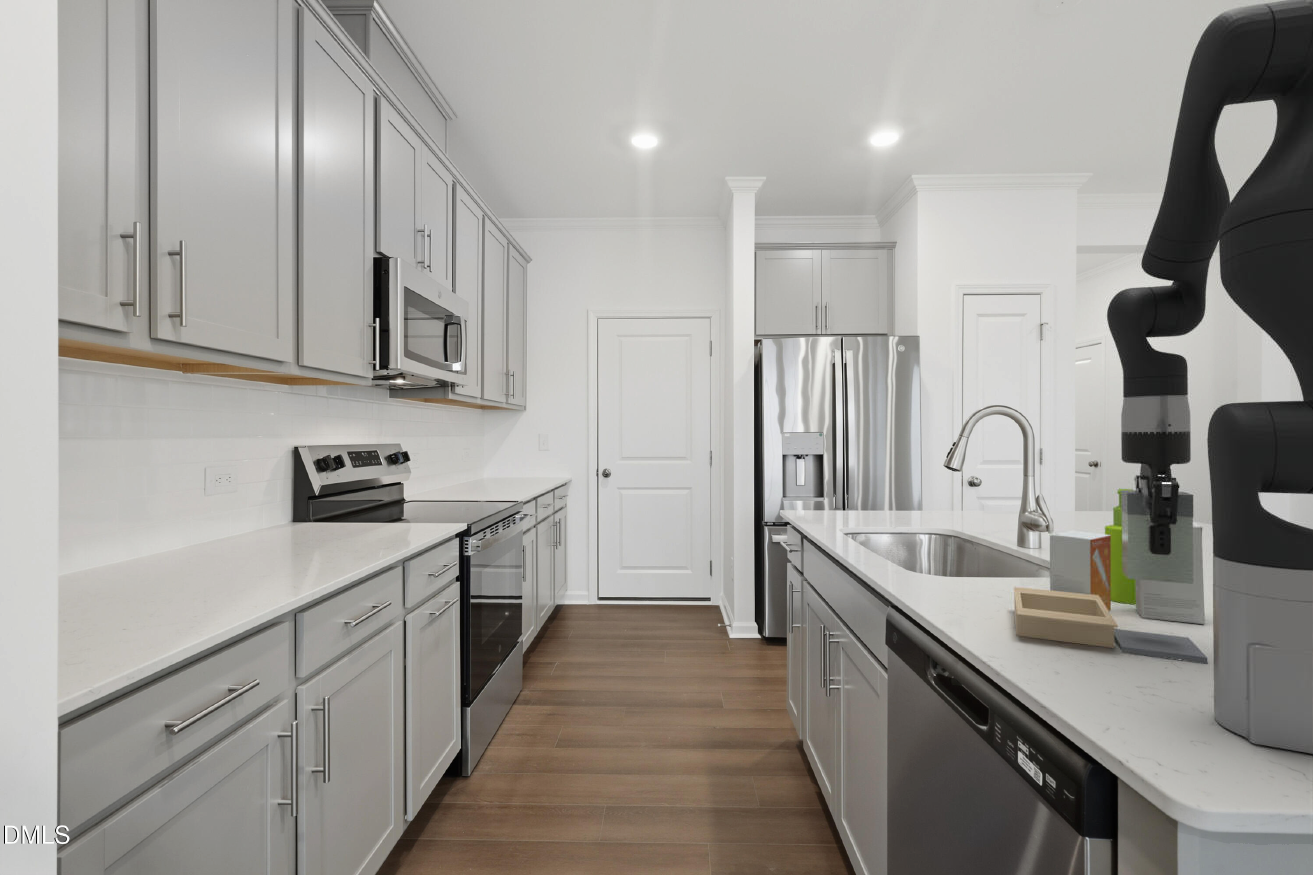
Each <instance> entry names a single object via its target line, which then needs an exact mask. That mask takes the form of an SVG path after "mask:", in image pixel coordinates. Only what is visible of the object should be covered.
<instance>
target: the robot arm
mask: <svg viewBox="0 0 1313 875" xmlns="http://www.w3.org/2000/svg"><path fill="white" fill-rule="evenodd" d="M1189 63H1190V64H1189V67H1188V70H1187V75H1186V79H1185V83H1184V86H1183V93H1182V97H1181V103H1180V107H1179V113H1178V118H1177V123H1176V128H1175V132H1174V138H1173V144H1172V148H1171V155H1170V160H1169V166H1168V171H1167V175H1166V176H1167V178H1166V182H1165V186H1164V192H1163V195H1162V199H1161V202H1160V205H1159V209H1158V213H1157V216H1156V218H1155V221H1154V223H1153V225H1152V228H1151V230H1150V235H1149V238H1148V240H1147V244H1146V246H1145V249H1144V252H1143V255H1142V258H1141V268H1142V270H1143V272H1144V273H1145V274H1147V275H1149V276H1150V277H1153V278H1155V279H1159V280H1165V281H1172V283H1171V285H1160V286H1158V285H1157V286H1142V287H1141V286H1140V287H1130V288H1129V287H1128V288H1125V289H1122V290H1121V291H1118V292H1117V293H1116V294H1115V295H1113V297H1112V298H1111V301H1110V302H1109V305H1108V307H1107V312H1106V319H1107V320H1106V321H1107V325H1108V329H1109V331H1110V334H1111V337H1112V339H1113V341H1114V344H1115V348H1116V350H1117V353H1118V354H1117V355H1118V358H1119V359H1120V361H1119V362H1120V363H1121V369H1122V387H1123V388H1122V389H1123V390H1122V393H1123V395H1122V396H1123V397H1122V398H1123V400H1122V407H1121V413H1120V414H1121V415H1120V416H1121V417H1120V418H1121V419H1120V420H1121V423H1120V425H1121V426H1120V428H1121V433H1120V434H1121V435H1120V436H1121V437H1120V439H1121V440H1120V441H1121V447H1120V448H1121V452H1120V453H1121V461H1122V462H1123V463H1126V464H1137V465H1140V469H1139V474H1136V475H1134V476H1135V477H1134V485H1135V491H1142V493H1143V494H1144V508H1145V509H1147V510H1148V524H1149V550H1150V552H1151V553H1152V554H1158V555H1169V554H1170V553H1171V528H1172V527H1173V525H1176V522H1177V505H1178V492H1180V491H1179V490H1180V484H1179V482H1178V481H1177V478H1176V477H1172V469H1171V466H1172V465H1186V464H1188V463H1190V462H1191V457H1192V454H1191V451H1192V450H1191V448H1192V447H1191V408H1190V404H1189V386H1188V385H1189V382H1188V380H1189V378H1188V376H1189V375H1188V373H1189V372H1188V361H1187V359H1186V357H1184V356H1183V355H1181V354H1177V353H1173V352H1167V351H1166V352H1164V351H1159V350H1157V349H1155V348H1153V346H1152V345H1151V344H1150V342H1149V340H1148V338H1169V337H1171V338H1172V337H1180V336H1185V335H1187V334H1189V333H1191V332H1192V331H1194V330H1195V329H1196V328H1197V327H1198V326H1199V325H1200V324H1201V322H1202V321H1203V319H1204V317H1205V314H1206V302H1207V300H1206V299H1207V298H1206V296H1207V284H1208V283H1207V282H1208V276H1209V268H1210V263H1211V259H1212V258H1213V256H1214V253H1215V252H1216V251H1215V250H1216V249H1217V246H1218V250H1219V252H1218V253H1219V268H1220V269H1219V273H1220V274H1219V275H1220V281H1221V284H1222V286H1223V288H1224V290H1225V292H1226V293H1227V295H1228V296H1229V297H1230V299H1231V300H1232V301H1233V302H1234V303H1235V305H1237V306H1238V308H1239V309H1240V310H1242V312H1243V313H1244V314H1245V315H1246V316H1247V317H1249V318H1250V319H1251V320H1252V321H1253V322H1254V323H1255V324H1256V325H1257V326H1259V327H1260V329H1261V330H1263V331H1264V332H1265V333H1266V334H1267V335H1268V336H1269V337H1270V338H1271V340H1273V341H1274V342H1275V343H1276V345H1277V346H1278V347H1279V348H1280V349H1281V351H1282V352H1283V354H1284V355H1285V357H1286V358H1287V360H1288V362H1290V365H1291V367H1292V368H1293V371H1294V373H1295V375H1296V378H1297V381H1298V384H1299V387H1300V390H1301V395H1302V398H1303V399H1302V400H1283V401H1281V400H1279V401H1252V402H1251V401H1250V402H1231V403H1225V404H1221V405H1220V406H1219V407H1217V408H1216V409H1215V411H1213V413H1212V415H1211V417H1210V419H1209V422H1208V427H1207V439H1206V440H1207V442H1206V443H1207V458H1208V468H1209V469H1208V471H1209V480H1210V494H1211V495H1210V496H1211V522H1212V523H1211V529H1212V554H1213V555H1212V616H1213V617H1212V623H1213V624H1212V631H1213V632H1212V634H1213V635H1212V636H1213V637H1212V638H1213V642H1212V643H1213V645H1212V646H1213V648H1212V649H1213V650H1212V651H1213V652H1212V654H1213V660H1212V661H1213V703H1214V704H1213V716H1214V720H1216V722H1217V723H1218V724H1220V725H1221V726H1222V727H1223V728H1226V729H1227V730H1229V731H1231V732H1233V733H1236V734H1237V735H1240V736H1242V737H1244V738H1246V739H1247V740H1248V742H1250V743H1252V744H1255V745H1262V746H1266V747H1267V746H1268V747H1272V748H1278V749H1283V750H1289V751H1295V752H1300V753H1301V752H1302V753H1306V754H1307V753H1308V754H1312V755H1313V528H1309V527H1306V526H1302V525H1301V524H1300V525H1299V524H1296V523H1293V522H1291V521H1287V520H1285V519H1283V518H1281V517H1279V516H1277V515H1275V514H1273V513H1271V512H1269V511H1268V510H1267V509H1265V508H1264V506H1263V505H1262V504H1261V500H1260V497H1259V493H1261V494H1262V493H1263V494H1264V493H1265V494H1267V493H1268V494H1297V495H1301V494H1302V495H1303V494H1304V495H1306V494H1307V495H1313V0H1279V1H1273V2H1267V3H1265V2H1264V3H1259V4H1252V5H1246V6H1240V7H1235V8H1231V9H1228V10H1226V11H1223V12H1221V13H1220V14H1219V15H1217V16H1216V17H1215V18H1214V19H1212V21H1210V23H1209V24H1208V25H1207V27H1206V28H1205V30H1204V31H1203V32H1202V34H1201V36H1200V38H1199V40H1198V43H1197V44H1196V46H1195V49H1194V51H1193V54H1192V56H1191V60H1190V62H1189ZM1265 101H1273V102H1274V105H1275V107H1276V127H1275V131H1274V136H1273V140H1272V142H1271V144H1270V146H1269V148H1268V150H1267V151H1266V153H1265V155H1264V156H1263V158H1262V160H1261V161H1260V162H1259V163H1258V164H1257V166H1256V168H1255V169H1253V171H1252V172H1251V174H1250V175H1249V177H1248V178H1247V179H1246V181H1245V182H1244V183H1243V184H1242V186H1241V187H1240V188H1239V190H1237V193H1235V195H1234V196H1233V198H1232V199H1231V200H1230V198H1231V196H1230V191H1229V188H1228V185H1227V182H1226V179H1225V176H1224V173H1223V171H1222V168H1221V165H1220V163H1219V160H1218V154H1217V151H1216V143H1215V142H1216V141H1215V140H1216V132H1217V127H1218V124H1219V120H1220V118H1221V114H1222V112H1223V110H1224V108H1225V107H1226V106H1229V105H1231V106H1232V105H1239V104H1249V103H1257V102H1265ZM1148 494H1149V495H1150V497H1151V498H1152V503H1151V502H1150V501H1149V497H1148ZM1158 510H1165V511H1166V515H1158Z"/></svg>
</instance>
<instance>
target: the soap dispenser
mask: <svg viewBox="0 0 1313 875" xmlns="http://www.w3.org/2000/svg"><path fill="white" fill-rule="evenodd" d="M1121 490H1133V491H1135V490H1134V489H1133V488H1118V489H1117V490H1116V492H1117V494H1118V505H1117V506H1114V507H1113V508H1112V511H1113V516H1112V518H1113V520H1112V521H1113V524H1110V525H1109V524H1108V525H1104V534H1106V535H1111V602H1114V603H1115V602H1116V603H1118V604H1119V603H1120V604H1127V605H1136V589H1135V579H1128V578H1127V577H1126V575H1125V574H1124V573H1123V570H1122V511H1121Z"/></svg>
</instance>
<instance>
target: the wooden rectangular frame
mask: <svg viewBox="0 0 1313 875" xmlns="http://www.w3.org/2000/svg"><path fill="white" fill-rule="evenodd" d="M1013 590H1014V592H1013V593H1014V594H1013V595H1014V596H1013V597H1014V622H1015V631H1016V636H1018V637H1025V638H1027V637H1028V638H1032V639H1033V638H1034V639H1035V638H1036V639H1041V640H1042V639H1043V640H1050V641H1058V642H1064V643H1065V642H1066V643H1071V644H1072V643H1074V644H1081V645H1089V646H1096V647H1102V648H1112V649H1115V640H1114V629H1119V625H1118V624H1117V622H1116V621H1115V619H1114V617H1113V616H1112V614H1111V613H1110V611H1108V609H1107V608H1106V606H1105V605H1104V603H1103V601H1102V600H1101V598H1100V597H1099V595H1092V594H1081V593H1071V592H1061V591H1050V589H1040V588H1038V589H1037V588H1028V587H1020V586H1019V587H1018V586H1013Z"/></svg>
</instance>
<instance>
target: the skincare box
mask: <svg viewBox="0 0 1313 875" xmlns="http://www.w3.org/2000/svg"><path fill="white" fill-rule="evenodd" d="M1203 556H1204V555H1203V527H1202V526H1201V525H1200V524H1197V522H1194V521H1193V584H1186V583H1174V582H1162V581H1150V580H1138V579H1135V589H1136V604H1135V608H1136V611H1137V613H1138V614H1139V616H1140V619H1150V620H1159V621H1169V622H1179V623H1190V624H1199V625H1204V624H1205V623H1206V622H1205V621H1206V619H1205V617H1206V614H1205V593H1204V592H1205V591H1204V589H1205V588H1204V587H1205V586H1204V585H1205V584H1204V562H1203V561H1204V560H1203V559H1204V558H1203Z"/></svg>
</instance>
